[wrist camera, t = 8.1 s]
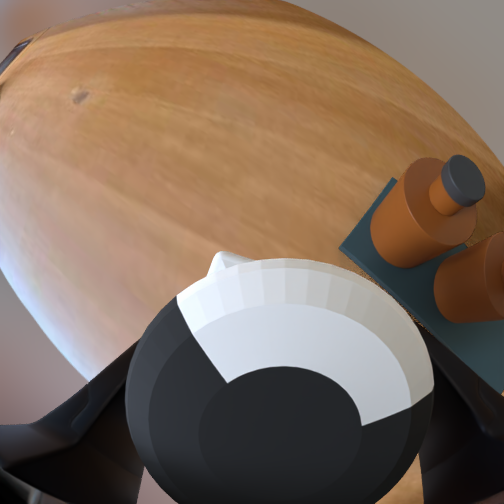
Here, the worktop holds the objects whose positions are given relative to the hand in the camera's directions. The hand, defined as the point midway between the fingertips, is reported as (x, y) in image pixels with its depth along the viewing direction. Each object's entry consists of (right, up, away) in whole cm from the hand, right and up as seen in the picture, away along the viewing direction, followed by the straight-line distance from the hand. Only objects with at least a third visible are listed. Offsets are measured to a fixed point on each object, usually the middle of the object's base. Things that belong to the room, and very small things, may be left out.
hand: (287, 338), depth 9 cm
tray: (+17, -1, +10) cm, 20 cm away
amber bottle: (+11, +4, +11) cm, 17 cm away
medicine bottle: (0, -3, +6) cm, 7 cm away
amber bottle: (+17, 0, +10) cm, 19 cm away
